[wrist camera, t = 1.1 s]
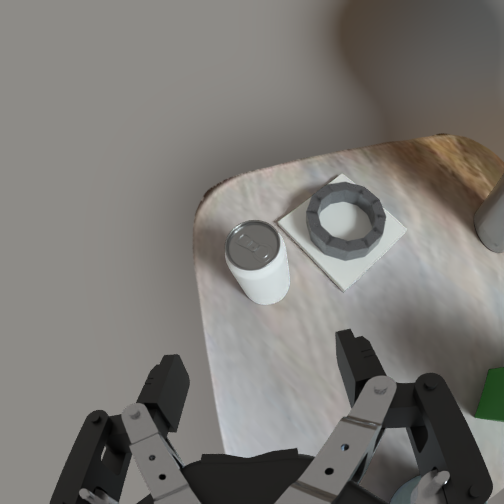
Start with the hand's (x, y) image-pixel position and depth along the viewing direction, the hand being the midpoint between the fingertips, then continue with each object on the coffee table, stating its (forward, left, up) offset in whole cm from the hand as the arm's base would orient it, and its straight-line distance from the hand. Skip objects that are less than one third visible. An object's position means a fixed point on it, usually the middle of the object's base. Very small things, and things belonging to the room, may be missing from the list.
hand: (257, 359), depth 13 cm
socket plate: (-20, -10, -22) cm, 31 cm away
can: (-6, -11, -23) cm, 26 cm away
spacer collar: (-20, -10, -22) cm, 31 cm away
